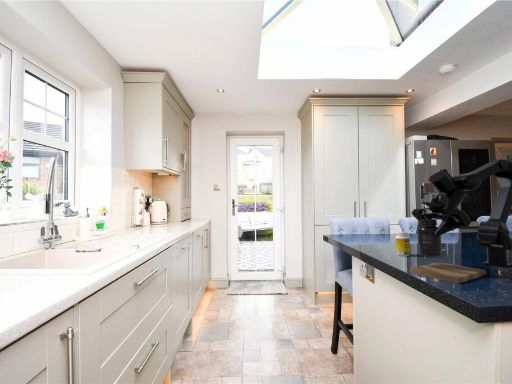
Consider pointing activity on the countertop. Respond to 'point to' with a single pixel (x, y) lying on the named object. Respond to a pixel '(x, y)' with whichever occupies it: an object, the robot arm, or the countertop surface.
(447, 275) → the walnut board
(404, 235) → the supplement bottle
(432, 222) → the supplement bottle
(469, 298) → the countertop surface
